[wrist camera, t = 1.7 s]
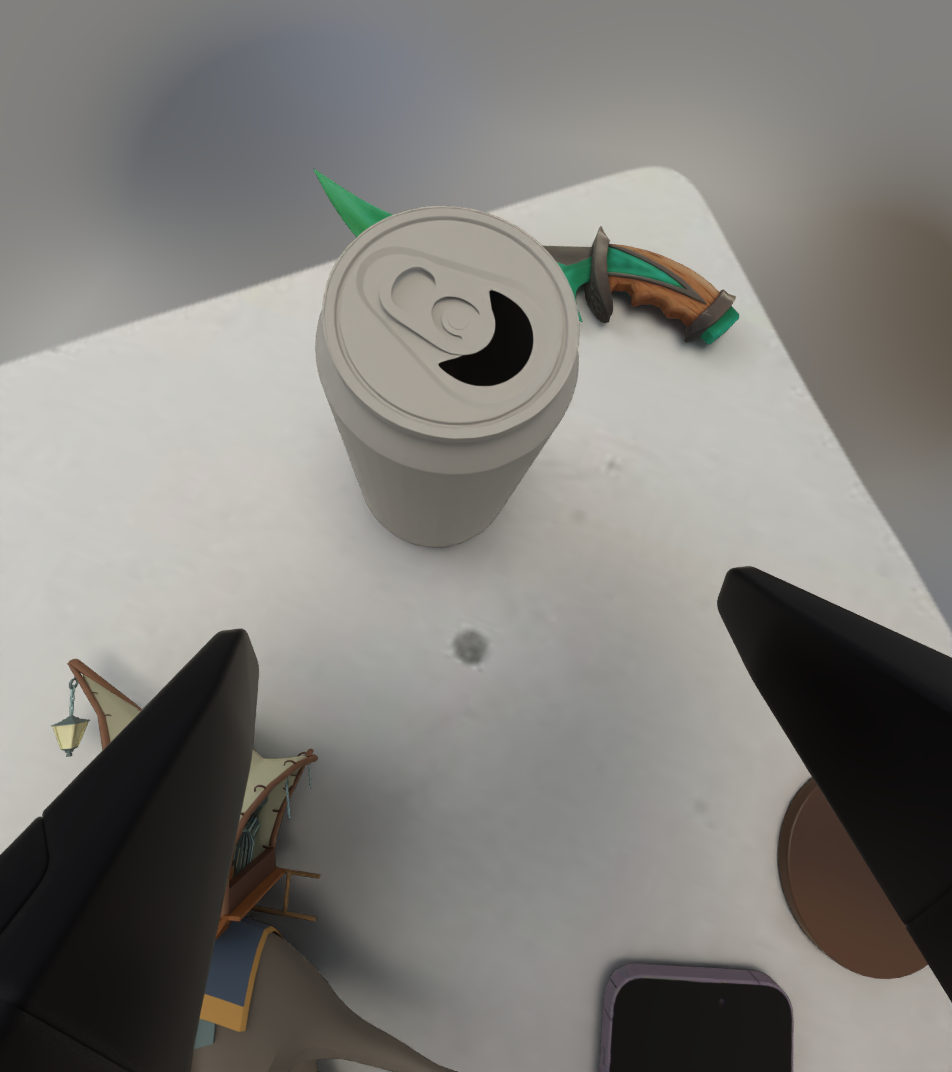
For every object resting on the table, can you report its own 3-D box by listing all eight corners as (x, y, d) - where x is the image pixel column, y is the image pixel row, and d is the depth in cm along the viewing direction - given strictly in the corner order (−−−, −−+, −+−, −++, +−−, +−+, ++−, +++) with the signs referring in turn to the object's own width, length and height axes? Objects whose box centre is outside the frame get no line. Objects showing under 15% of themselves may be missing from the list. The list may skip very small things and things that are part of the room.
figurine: (-439, 1520, 11) (-283, 687, 14) (-124, 1206, 17) (-65, 673, 20) (507, 1340, 12) (450, 621, 15) (487, 1109, 18) (449, 626, 21)
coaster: (952, 980, 21) (967, 991, 21) (773, 958, 21) (783, 967, 20) (947, 776, 23) (961, 780, 22) (781, 749, 22) (791, 752, 22)
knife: (719, 365, 26) (734, 271, 26) (740, 348, 24) (755, 248, 24) (295, 274, 25) (318, 181, 25) (283, 250, 23) (308, 150, 24)
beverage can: (458, 577, 22) (509, 513, 10) (331, 499, 22) (238, 345, 10) (531, 459, 23) (647, 285, 12) (412, 386, 23) (409, 138, 12)
